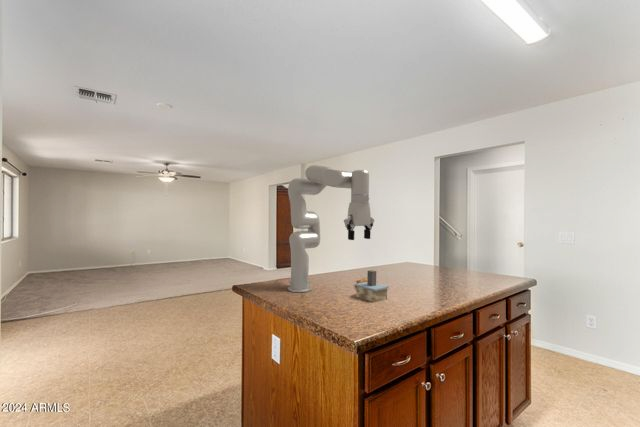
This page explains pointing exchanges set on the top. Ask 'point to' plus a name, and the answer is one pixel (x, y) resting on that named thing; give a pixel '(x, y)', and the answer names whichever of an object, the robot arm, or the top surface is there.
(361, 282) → the croissant
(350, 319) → the top surface
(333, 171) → the robot arm
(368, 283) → the lid
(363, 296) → the box
